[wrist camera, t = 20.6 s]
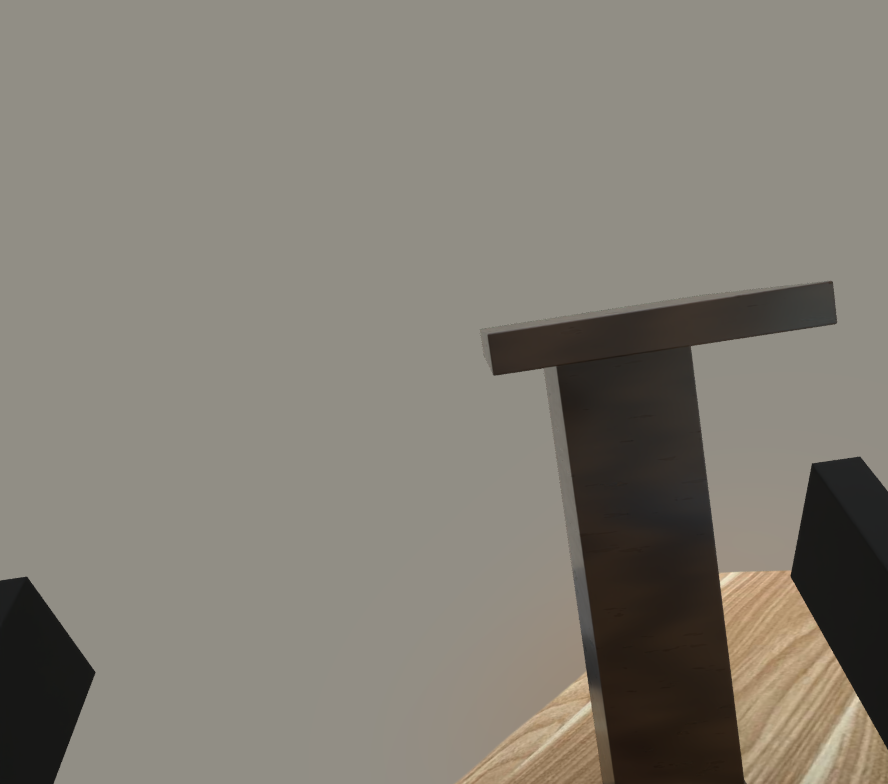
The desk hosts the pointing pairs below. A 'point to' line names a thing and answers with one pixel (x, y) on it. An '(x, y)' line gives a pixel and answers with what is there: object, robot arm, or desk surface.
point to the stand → (648, 517)
